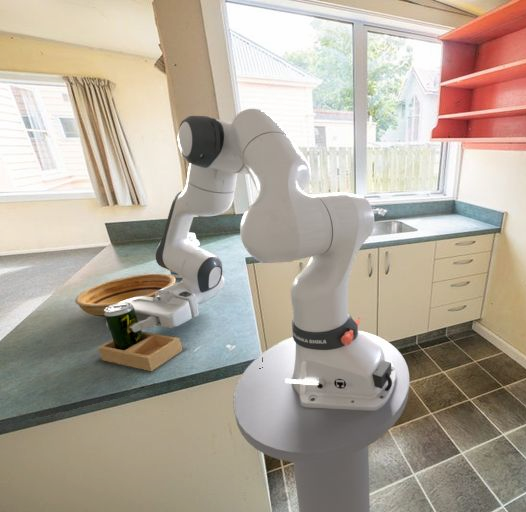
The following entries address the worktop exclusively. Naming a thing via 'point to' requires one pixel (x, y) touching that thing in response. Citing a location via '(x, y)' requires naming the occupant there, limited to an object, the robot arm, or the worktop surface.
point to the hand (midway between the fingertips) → (119, 327)
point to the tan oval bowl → (121, 291)
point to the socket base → (143, 351)
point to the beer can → (122, 325)
